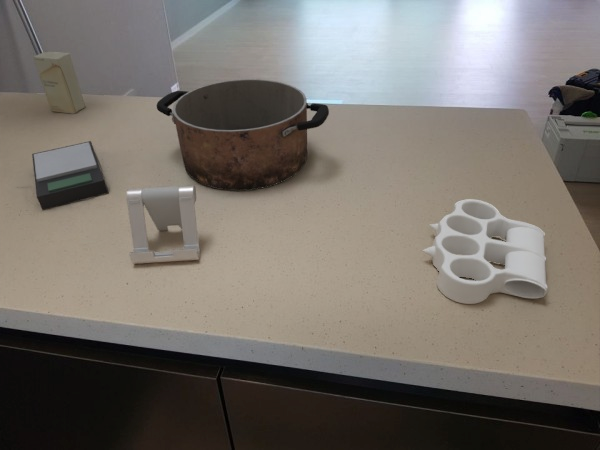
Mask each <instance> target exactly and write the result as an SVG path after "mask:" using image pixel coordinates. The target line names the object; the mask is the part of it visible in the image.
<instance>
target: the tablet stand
mask: <svg viewBox="0 0 600 450" xmlns="http://www.w3.org/2000/svg"><path fill="white" fill-rule="evenodd" d="M125 194H126V196H125V197H126V206H127V211H128V220H129V225H130V234H131V240H132V248H133V250H132V251H131V252H129V253H128V254H129V258H130V263H131V264H133V265H135V264H141V265H143V264H151V263H152V264H153V263H165V262H167V263H168V262H182V261H190V262H191V261H198V260H200V257H201V253H200V251H201V250H200V242H199V233H198V232H199V231H198V222H197V214H196V206H195V205H196V201H197V190H196V186H195V185H180V186H179V185H178V186H161V187H145V188H144V187H143V188H141V187H140V188H128V189H127V190H126V193H125ZM145 209H146V211H147V212H148V214H149V216H150V219H151V221H152V222H153V224H154V226H155V227H156V229H157V231H160V232H163V231H168V230H169V227H171V226H178V227H179V228H180V229H181V230H182V239H183V248H175V249H172V250H171V251H156V252H155V250H150V248H149V240H148V233H147V225H146V224H147V223H146V216H145Z"/></svg>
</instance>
